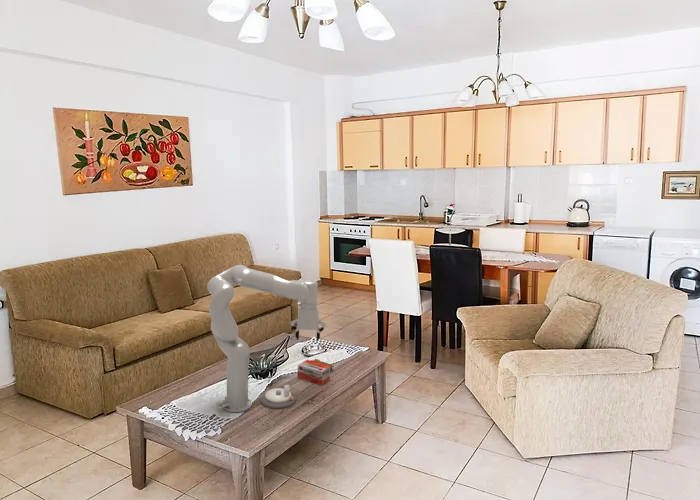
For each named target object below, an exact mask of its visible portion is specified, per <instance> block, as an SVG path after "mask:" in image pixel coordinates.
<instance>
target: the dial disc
mask: <svg viewBox="0 0 700 500" xmlns="http://www.w3.org/2000/svg"><path fill="white" fill-rule="evenodd" d="M289 387H290V385H289V384H284V385H283V388H281V387H278V388H271V389H269V390H267V391H266V394H265V398H266V400H267V401H269V402H272V403H284V402H287V401H289V400H292V401H293V400H294V397H292V396H291V392H292V391H291V392H290V391H289Z"/></svg>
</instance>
